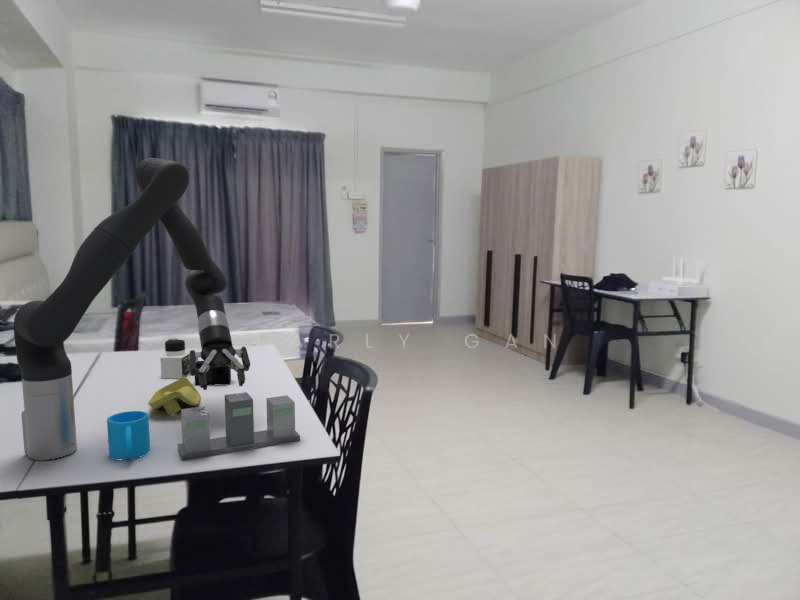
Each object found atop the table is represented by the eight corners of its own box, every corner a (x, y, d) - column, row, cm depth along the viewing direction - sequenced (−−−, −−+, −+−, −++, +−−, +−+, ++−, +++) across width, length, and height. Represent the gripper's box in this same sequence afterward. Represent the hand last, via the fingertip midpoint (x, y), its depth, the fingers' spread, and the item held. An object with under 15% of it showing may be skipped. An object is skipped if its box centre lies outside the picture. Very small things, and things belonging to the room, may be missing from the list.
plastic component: (156, 391, 166) (189, 374, 168) (169, 413, 167) (201, 396, 169) (144, 407, 147) (181, 387, 149) (158, 432, 148) (195, 412, 150)
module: (231, 446, 128) (230, 402, 127) (225, 437, 134) (224, 395, 133) (254, 442, 131) (253, 399, 129) (247, 433, 136) (246, 392, 135)
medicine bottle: (182, 378, 187) (181, 342, 186) (160, 378, 187) (159, 342, 186) (191, 373, 194) (189, 337, 193) (170, 372, 194) (168, 337, 193)
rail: (181, 460, 123) (179, 418, 122) (177, 449, 130) (175, 409, 128) (300, 440, 135) (299, 402, 134) (291, 430, 142) (290, 394, 140)
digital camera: (193, 386, 179) (192, 364, 178) (197, 382, 184) (196, 360, 183) (228, 385, 180) (228, 363, 179) (231, 381, 185) (230, 359, 184)
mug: (109, 449, 130) (107, 413, 128) (149, 443, 133) (147, 409, 132) (107, 470, 119) (105, 431, 118) (151, 463, 122) (149, 426, 121)
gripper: (186, 325, 144) (194, 381, 135) (244, 322, 151) (255, 375, 142) (184, 342, 149) (191, 397, 141) (240, 338, 156) (250, 391, 147)
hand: (223, 386), depth 141 cm, fingers open, 8 cm apart
